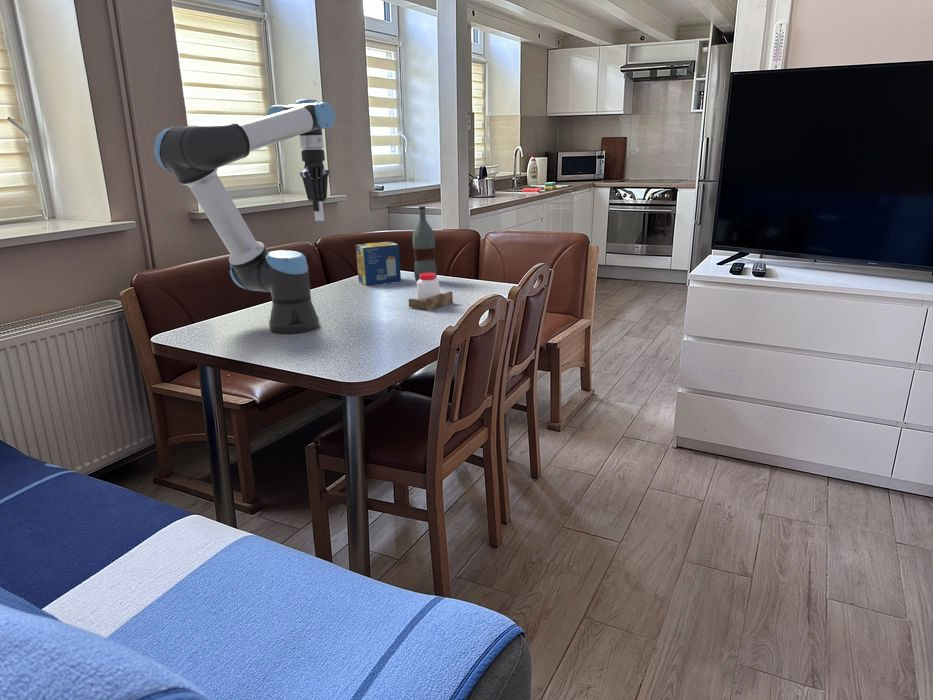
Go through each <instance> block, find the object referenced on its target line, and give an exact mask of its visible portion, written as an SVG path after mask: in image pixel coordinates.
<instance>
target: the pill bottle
mask: <svg viewBox="0 0 933 700" xmlns="http://www.w3.org/2000/svg"><path fill="white" fill-rule="evenodd" d="M419 278H420V279H419V280H418V281H417V282H416V281H415V283H416V296H417V297H416V299H419V300H426V299H427V298H430V297H433V296H436V295H440V293H441V292H440V280H439V279H438V278H437V277H435V273H421V274H419Z"/></svg>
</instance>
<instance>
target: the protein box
mask: <svg viewBox="0 0 933 700" xmlns="http://www.w3.org/2000/svg"><path fill="white" fill-rule="evenodd" d="M355 251H356V254H355V255H356V264H357V266H356V267H357V276H358V282H359V283H360V282H361V284H363V285H364V286H365V287H368V286H367V285H370V286H376V285H375V284H378V285H385V284H384V283H386V284H392V282H395V283H401V282H402V277H401V275H402V274H401V259H400V245H399V244H398V243H395V242H393V241H381V242H370V243H362V244H361V243H360V244H355ZM400 281H401V282H400Z"/></svg>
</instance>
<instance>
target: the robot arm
mask: <svg viewBox="0 0 933 700" xmlns="http://www.w3.org/2000/svg"><path fill="white" fill-rule="evenodd" d="M335 122H336V113H335V109H334V107H333V106H332V105H331V104H330V103H329V102H325V101H318V100H317V99H308V98H307V99H298V100H296V102H295V104H288V105H285V104H284V105H283V104H274V105H272V106H270V107H269V108H268V109H267V114H266V116H264V117H263V116H262V117H259V118H256V119H252V120H249V121H246V122H241V123H238V122H235V121H233V122H232V121H231V122H227V123H223V124H221V123H220V124H199V125H187V126H178V125H177V126H176V125H175V126H172V127H168V128H165V129H163V130H161V132H159V133H158V134H157V135H156V138H155V141H154V146H153V152H154V157H155V158H156V161H157V163H158V164H159V166H161V168H162V169H164V170H166V171H168V172H172V173H173V174H174V176H175V177H176V179H177V181H178V182H179V184H180V185H182V186H186V187H188V188H189V189H190V191H191V193H192V194H193V196H194V198H195V199H196V201H197V202H198V204H199V206H200V207H201V209H202V210H203V213H204V214H205V215H206V217H207V218H208V220H209V221H210V223H211V225H212V226H213V229H214V230H215V231H216V233H217V234H218V236H219V238H220V239H221V241H222V242H223V244H224V246H225V248H226V249H227V251H228V252H229V254H230V255H229V258H228V262H229V268H230V270H229V275H230V277H231V279H232V281H233V282H234V283H235V284H236V285H237V286H238V287H239V288H242V289H243V290H248V291H250V292H251V291H253V292H266V293H270V294H271V302H272V307H271V312H270V318H269V322H268V325H269V330H271V332H272V331H274V332H273V333H275V332H277V334H297V333H303V332H308V331H312V330H315V329H317V328H318V327H319V326H320V324H321V323H320V319H319V316H318V314H317V312H316V309H315V306H314V305H313V302H312V296H311V285H310V273H309V265H308V262H307V258H306V256H305V254H304V253H301V252H299V251H295V250H284V249H279V250H273V251H268V249H267V248H266V246H265V244H264V243H263V242H262V241H257V240H256V239H255V237H254V235H253V234H252V232H251V230H250V229H249V227H248V225H247V223H246V221H245V220H244V218H243V217H242V214H241V213H240V211H239V209H238V208H237V206H236V204H235V202H234V201H233V199H232V197H231V196H230V194H229V192H228V191H227V189H226V187H225V186H224V184H223V181H222V180H221V178H220V177H219V174H218V169H219V168H221V167H224V166H227V165H229V164H232V163H234V162H237V161H239V160H242V159H245V158H247V157H248V156H249V155H250V153H251V152H253V151H257V150H260V149H261V148H264V147H268V146H271V145H273V144H276V143H280V142H282V141H285V140H288V139H291V138H292V139H293V138H294V137H298V136H299V144H300V148H301V149H302V150H301V151H300V152H301V161H302V162H304V166H303V167H304V169H303V170H302V171H300V172H299V175H300V177H301V178H302V181H303V182H302V183H303V187H304V190H305V193H306V196H307V200H308V201H310V203H311V202H312V207H313V208H312V210H313V213H314V221H315V222H324V221H325V216H324V214H325V213H324V210H325V209H324V208H325V207H324V202H326V199H327V198H328V178H329V174H330V170H329V169H326V168H325V166H324V165H325V164H324V161H325V160H326V158H325V155H326V154H325V151H324V149H323V148H324V137H323V130H325V129H329V128H331V127H333V125H334V124H335Z"/></svg>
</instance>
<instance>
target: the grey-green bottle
mask: <svg viewBox="0 0 933 700" xmlns="http://www.w3.org/2000/svg"><path fill="white" fill-rule="evenodd" d="M418 212H419V213H418V216H419V218H418V219H419V221H418V223H417V225H416V226H415V228H414V230H413V233H412V247H413V256H414V268H413V269H414V272H413V274H414V279H415V283H416V282H417V281H418V280H419V279H420V278H419V274H421V273H435V277H436V278H437V275H438V273H437V272H438V271H437V265H436V259H435V258H436V257H435V255H436V253H435V252H436V238H435V237H436V236H435V233H434V230H433V228H432V227H431V226H430V224H429V222H428V221H427V215H426V206H418Z"/></svg>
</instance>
